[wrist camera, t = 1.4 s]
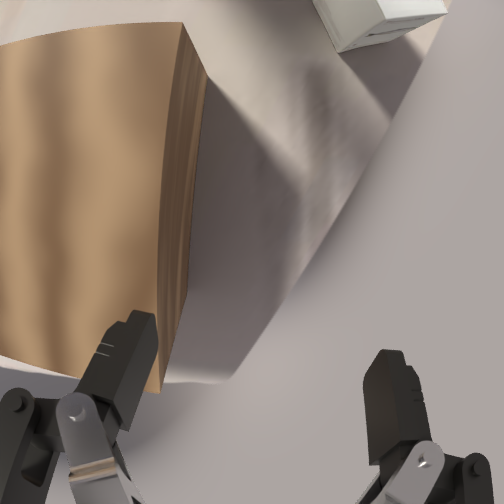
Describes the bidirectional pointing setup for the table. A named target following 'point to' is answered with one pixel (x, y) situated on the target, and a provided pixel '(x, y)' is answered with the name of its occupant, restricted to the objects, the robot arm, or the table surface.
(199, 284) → the table surface
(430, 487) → the robot arm
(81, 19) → the table surface
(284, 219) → the table surface
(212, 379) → the table surface
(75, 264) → the shelf
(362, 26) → the supplement box
